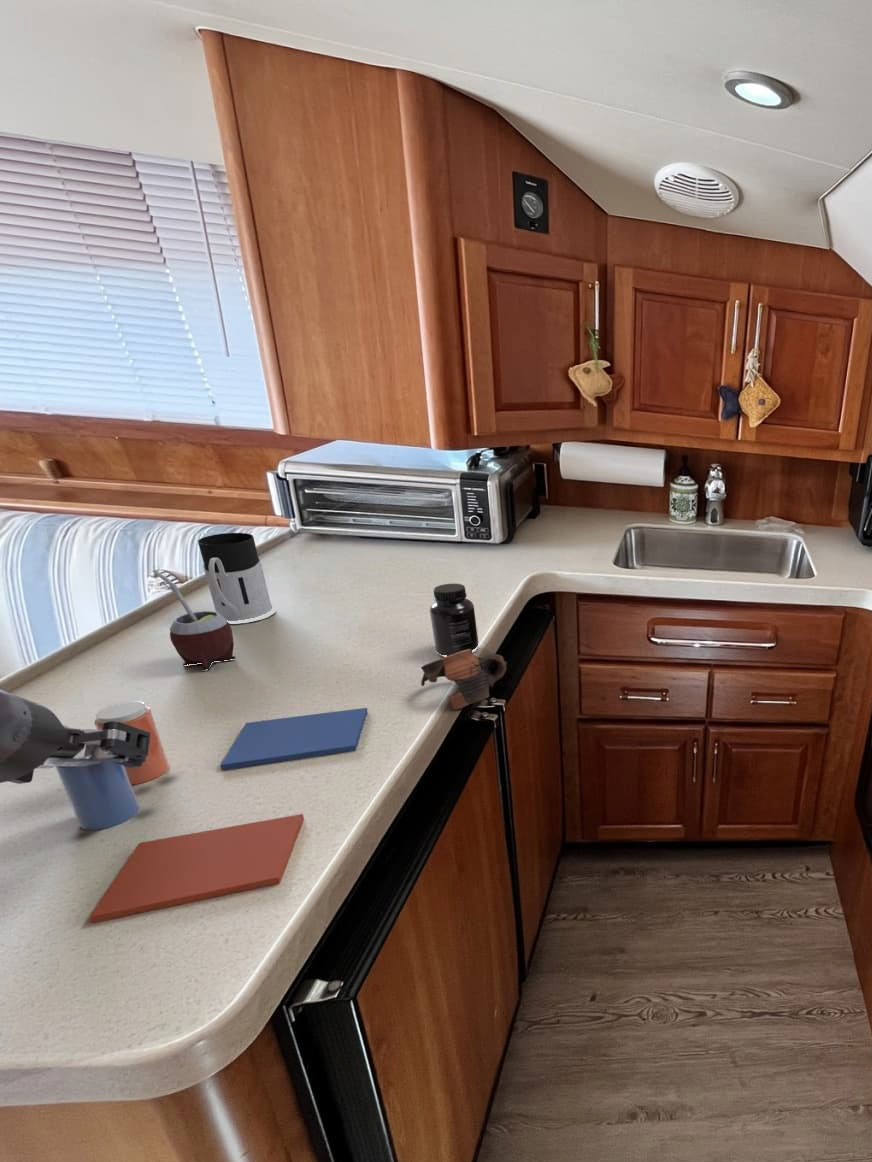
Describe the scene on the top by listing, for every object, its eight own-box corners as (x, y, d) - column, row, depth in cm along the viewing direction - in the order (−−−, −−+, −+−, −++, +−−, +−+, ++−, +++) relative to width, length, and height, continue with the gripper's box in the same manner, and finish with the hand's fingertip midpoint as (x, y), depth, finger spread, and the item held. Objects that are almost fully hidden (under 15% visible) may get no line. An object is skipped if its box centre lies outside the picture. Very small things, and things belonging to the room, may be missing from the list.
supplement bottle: (484, 642, 116) (477, 581, 112) (472, 659, 110) (465, 595, 106) (443, 642, 115) (435, 580, 111) (429, 659, 109) (420, 594, 104)
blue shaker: (70, 834, 68) (40, 764, 64) (93, 807, 71) (66, 739, 68) (128, 824, 69) (102, 756, 66) (147, 798, 73) (123, 732, 70)
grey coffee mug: (281, 604, 124) (263, 530, 118) (260, 634, 112) (240, 553, 106) (223, 608, 120) (202, 532, 115) (196, 640, 108) (171, 556, 103)
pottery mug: (433, 720, 93) (410, 669, 92) (440, 715, 102) (420, 668, 101) (516, 686, 98) (495, 637, 97) (517, 684, 106) (497, 639, 106)
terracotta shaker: (108, 788, 74) (83, 723, 71) (127, 765, 78) (103, 702, 75) (160, 780, 76) (137, 716, 73) (175, 759, 80) (155, 697, 77)
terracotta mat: (91, 923, 58) (88, 917, 58) (141, 848, 67) (139, 842, 66) (280, 883, 64) (278, 877, 64) (304, 818, 72) (303, 813, 72)
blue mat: (221, 770, 79) (220, 765, 78) (247, 727, 87) (246, 722, 87) (355, 750, 84) (354, 745, 84) (367, 712, 93) (367, 707, 93)
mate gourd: (234, 668, 101) (209, 580, 95) (167, 677, 97) (137, 586, 91) (242, 649, 107) (220, 565, 101) (179, 656, 103) (152, 569, 97)
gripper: (88, 678, 57) (176, 720, 71) (-150, 701, 52) (-4, 742, 65) (76, 760, 55) (169, 787, 69) (-176, 794, 49) (-19, 816, 63)
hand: (84, 765), depth 67 cm, fingers open, 8 cm apart
